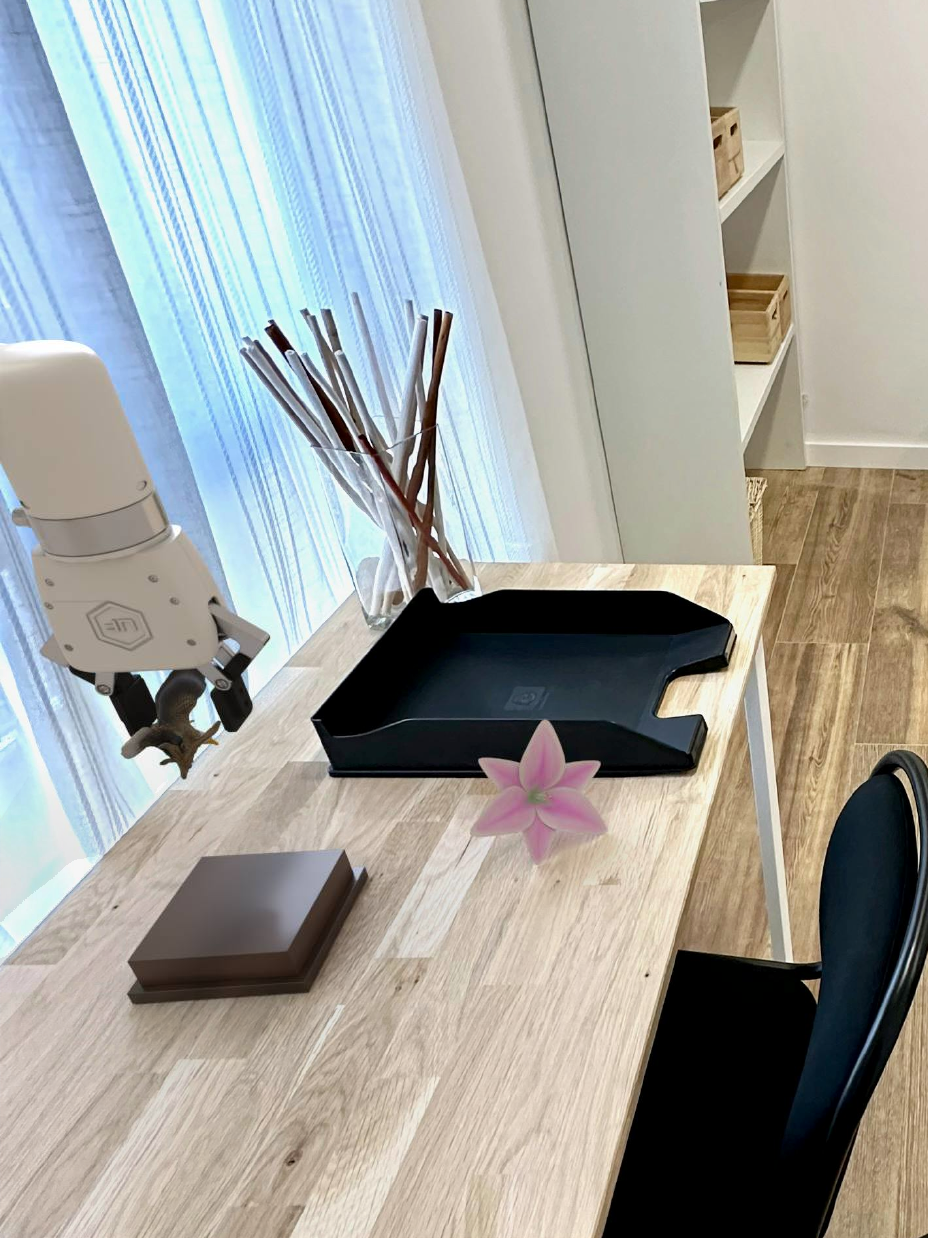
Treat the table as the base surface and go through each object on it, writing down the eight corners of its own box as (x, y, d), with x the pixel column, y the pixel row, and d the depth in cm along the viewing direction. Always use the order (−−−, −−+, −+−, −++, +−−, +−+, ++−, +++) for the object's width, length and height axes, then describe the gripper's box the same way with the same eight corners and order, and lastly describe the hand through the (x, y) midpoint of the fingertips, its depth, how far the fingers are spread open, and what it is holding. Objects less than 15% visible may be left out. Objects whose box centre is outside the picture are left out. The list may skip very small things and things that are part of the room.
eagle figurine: (264, 742, 87) (232, 676, 92) (184, 705, 81) (155, 637, 86) (186, 808, 86) (158, 738, 91) (100, 776, 80) (75, 703, 85)
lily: (461, 885, 98) (476, 834, 91) (459, 772, 104) (473, 717, 98) (599, 877, 104) (622, 830, 98) (589, 771, 110) (610, 720, 104)
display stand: (132, 1004, 85) (111, 969, 82) (213, 884, 96) (197, 851, 93) (308, 992, 86) (292, 957, 84) (368, 876, 97) (356, 842, 95)
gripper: (-70, 549, 73) (46, 760, 82) (208, 541, 75) (290, 747, 85) (0, 502, 79) (101, 703, 89) (255, 496, 81) (326, 692, 91)
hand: (192, 722), depth 87 cm, fingers closed on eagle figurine, 6 cm apart
